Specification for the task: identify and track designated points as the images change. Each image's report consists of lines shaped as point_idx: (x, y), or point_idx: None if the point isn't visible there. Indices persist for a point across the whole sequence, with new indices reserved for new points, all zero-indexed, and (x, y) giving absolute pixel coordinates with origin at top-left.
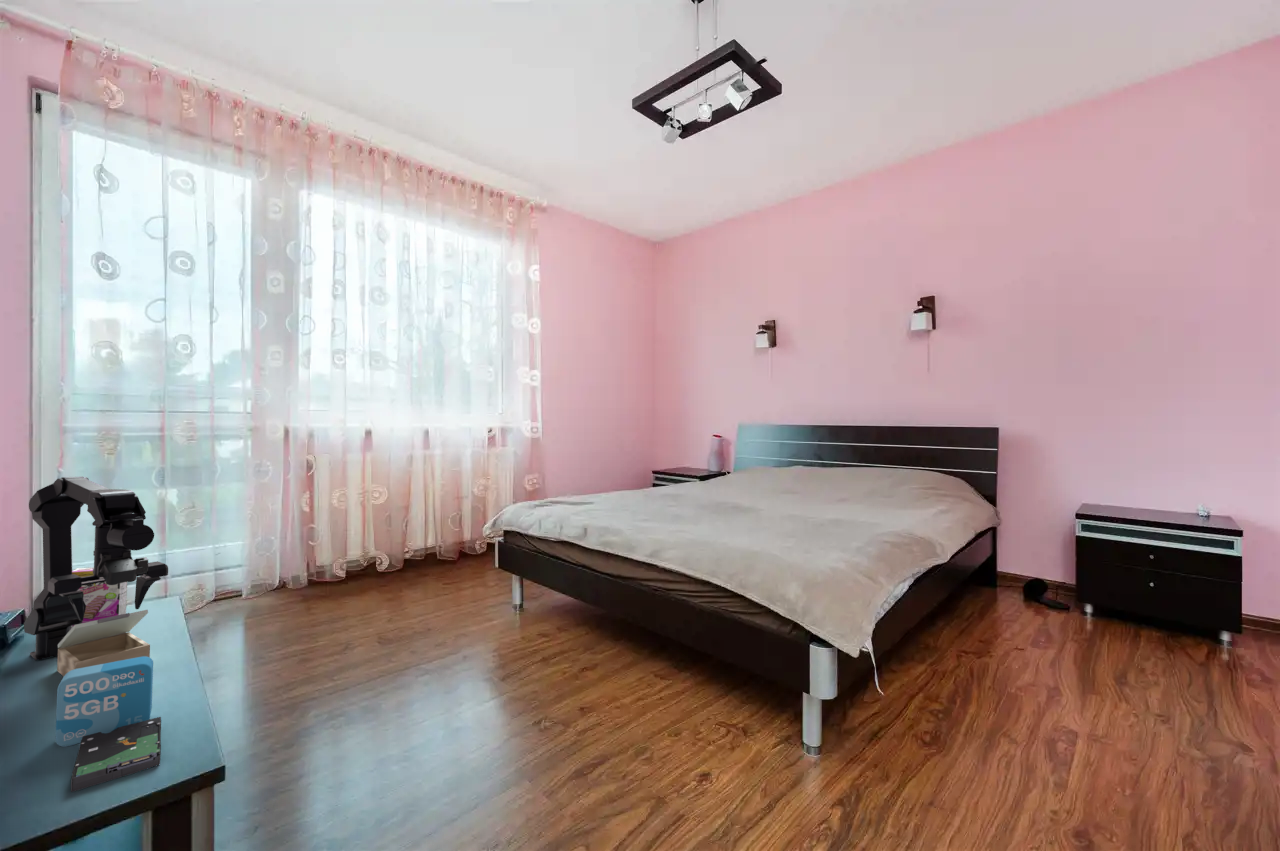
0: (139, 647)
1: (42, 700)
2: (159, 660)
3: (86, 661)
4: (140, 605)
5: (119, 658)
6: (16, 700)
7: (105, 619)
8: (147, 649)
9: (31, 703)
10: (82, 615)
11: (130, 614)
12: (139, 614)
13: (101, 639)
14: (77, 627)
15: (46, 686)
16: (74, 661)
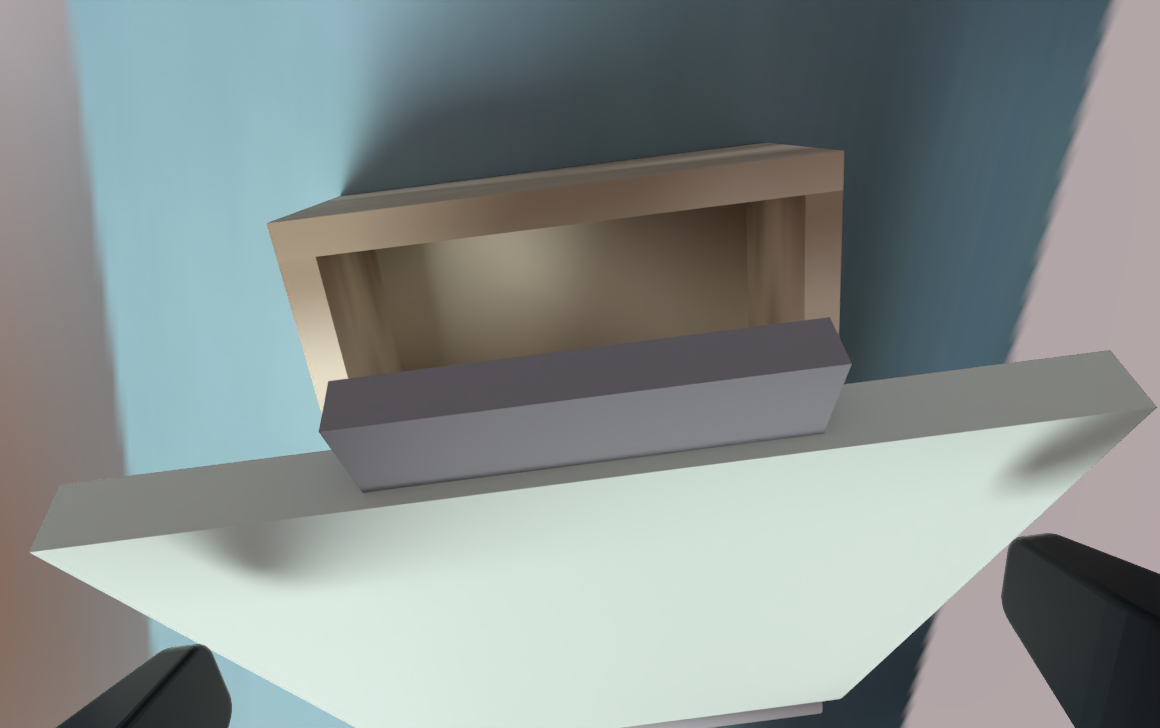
0: (356, 212)
1: (956, 29)
2: (274, 282)
3: (769, 160)
4: (99, 697)
5: (520, 186)
6: (1036, 180)
7: (733, 350)
8: (303, 214)
9: (1010, 25)
10: (1126, 591)
11: (321, 489)
12: (194, 473)
13: None
14: (1084, 358)
15: (870, 315)
16: (839, 232)
